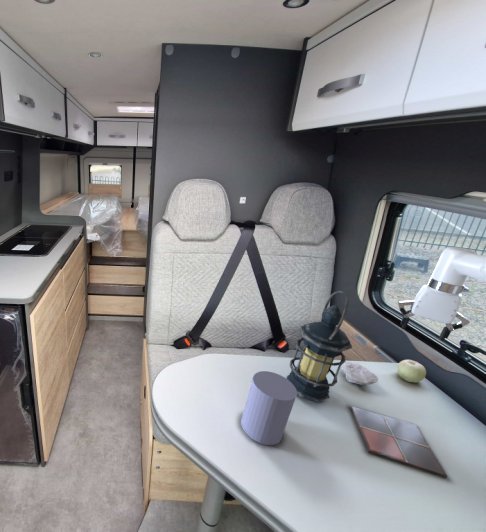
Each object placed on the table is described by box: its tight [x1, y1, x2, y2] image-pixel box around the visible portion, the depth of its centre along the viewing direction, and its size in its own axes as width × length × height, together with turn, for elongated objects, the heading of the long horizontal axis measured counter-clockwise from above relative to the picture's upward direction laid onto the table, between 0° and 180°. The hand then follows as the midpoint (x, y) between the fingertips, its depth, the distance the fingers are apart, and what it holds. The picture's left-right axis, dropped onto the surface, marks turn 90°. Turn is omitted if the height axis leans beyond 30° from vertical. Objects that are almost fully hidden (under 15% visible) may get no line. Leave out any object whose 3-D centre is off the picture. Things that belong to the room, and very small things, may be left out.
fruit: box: [397, 359, 427, 383], centre depth 107 cm, size 8×7×8 cm
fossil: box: [341, 362, 379, 386], centre depth 105 cm, size 9×6×10 cm
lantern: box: [286, 290, 353, 403], centre depth 92 cm, size 14×13×35 cm
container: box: [240, 370, 298, 446], centre depth 80 cm, size 10×10×15 cm
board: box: [350, 405, 448, 479], centre depth 83 cm, size 16×16×1 cm
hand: (421, 333), depth 102 cm, fingers open, 9 cm apart
